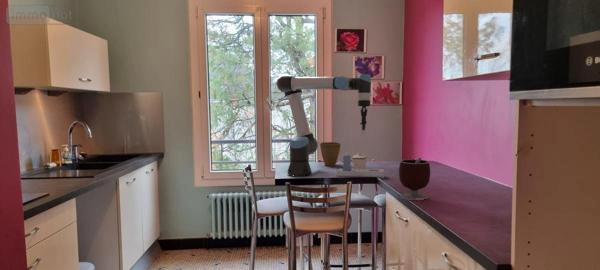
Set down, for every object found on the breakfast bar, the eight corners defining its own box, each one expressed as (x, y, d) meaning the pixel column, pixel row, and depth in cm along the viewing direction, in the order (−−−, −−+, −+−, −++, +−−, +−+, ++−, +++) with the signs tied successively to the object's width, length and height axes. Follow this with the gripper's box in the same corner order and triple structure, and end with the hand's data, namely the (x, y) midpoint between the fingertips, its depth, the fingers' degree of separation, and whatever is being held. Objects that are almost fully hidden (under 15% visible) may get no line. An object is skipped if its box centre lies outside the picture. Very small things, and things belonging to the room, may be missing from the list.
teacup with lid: (363, 169, 252) (363, 151, 251) (368, 171, 243) (368, 153, 242) (346, 169, 250) (346, 152, 249) (350, 172, 241) (350, 154, 240)
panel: (336, 177, 224) (336, 170, 224) (337, 174, 233) (337, 168, 233) (384, 178, 219) (384, 171, 218) (383, 175, 228) (383, 169, 227)
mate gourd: (395, 194, 182) (395, 153, 180) (424, 193, 182) (424, 152, 180) (404, 202, 166) (404, 158, 165) (435, 202, 166) (436, 157, 165)
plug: (343, 175, 226) (343, 153, 225) (343, 174, 230) (343, 152, 229) (350, 175, 225) (350, 153, 224) (350, 174, 229) (350, 152, 228)
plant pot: (323, 167, 261) (323, 144, 260) (317, 164, 275) (317, 142, 274) (343, 166, 265) (343, 143, 263) (336, 163, 279) (336, 141, 278)
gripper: (370, 99, 217) (369, 136, 219) (369, 99, 242) (369, 132, 244) (357, 99, 218) (356, 136, 220) (358, 99, 243) (357, 132, 245)
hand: (363, 134), depth 232 cm, fingers open, 13 cm apart
